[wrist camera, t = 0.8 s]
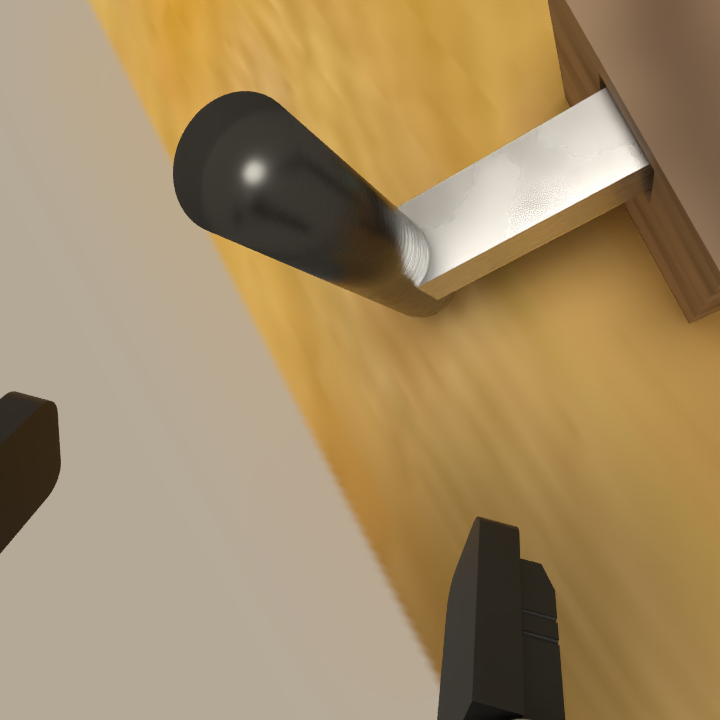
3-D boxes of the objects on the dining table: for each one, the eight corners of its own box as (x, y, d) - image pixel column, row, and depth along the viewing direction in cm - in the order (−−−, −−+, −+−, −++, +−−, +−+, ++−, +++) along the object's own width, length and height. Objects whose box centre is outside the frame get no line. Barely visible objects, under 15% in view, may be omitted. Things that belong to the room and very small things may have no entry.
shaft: (913, -35, 24) (1339, -682, 10) (966, 40, 23) (1508, -537, 9) (373, 265, 30) (155, 140, 16) (402, 330, 29) (201, 260, 15)
